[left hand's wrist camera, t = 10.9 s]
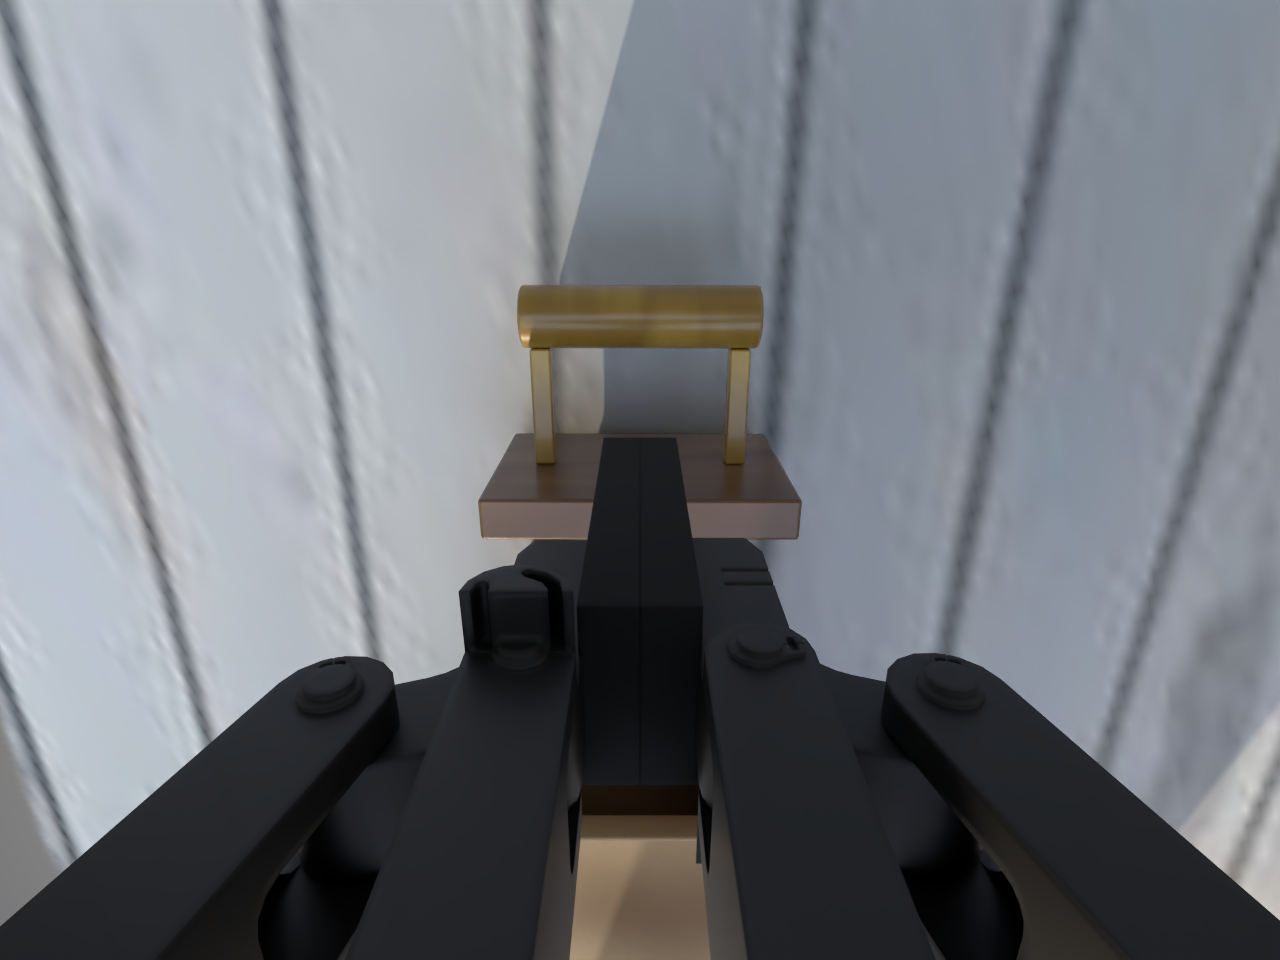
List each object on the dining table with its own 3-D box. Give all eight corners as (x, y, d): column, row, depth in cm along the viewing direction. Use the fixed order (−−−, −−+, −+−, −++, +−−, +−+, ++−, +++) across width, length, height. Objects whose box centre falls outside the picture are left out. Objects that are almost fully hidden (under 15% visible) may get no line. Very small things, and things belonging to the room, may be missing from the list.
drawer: (504, 276, 22) (459, 297, 17) (775, 276, 22) (821, 298, 17) (541, 826, 31) (519, 964, 25) (737, 826, 31) (759, 964, 25)
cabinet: (521, 677, 29) (480, 838, 22) (757, 678, 29) (798, 838, 22) (543, 988, 36) (518, 1191, 29) (734, 989, 36) (758, 1192, 29)
